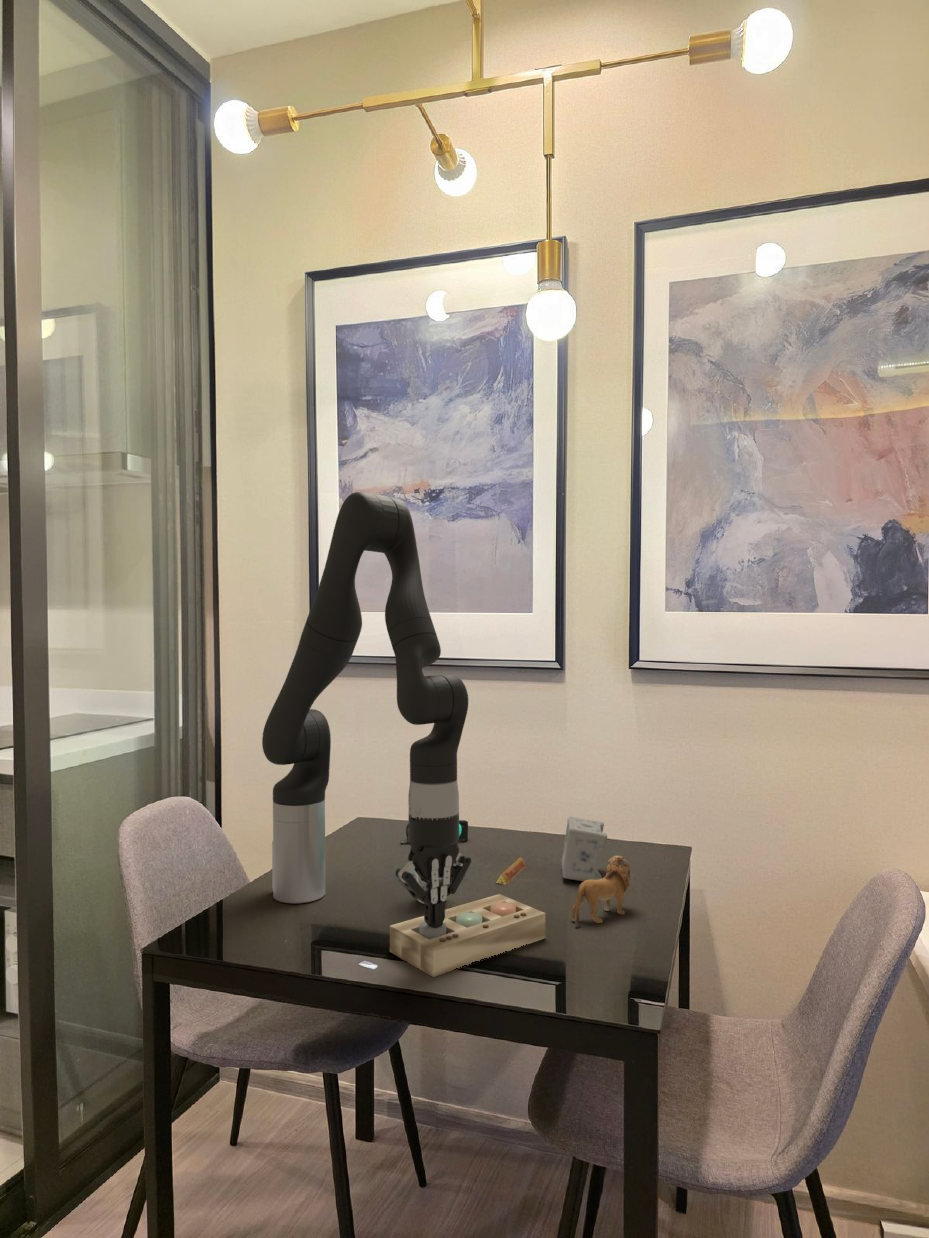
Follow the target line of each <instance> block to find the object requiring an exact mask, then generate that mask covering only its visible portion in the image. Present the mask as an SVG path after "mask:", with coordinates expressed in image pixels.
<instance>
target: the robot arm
mask: <svg viewBox="0 0 929 1238" xmlns="http://www.w3.org/2000/svg"><path fill="white" fill-rule="evenodd" d="M335 520H336V521H335V524H334V527H333V528H334V529H333V531H332V536H331V540H330V543H329V544H330V545H329V549H328V553H327V557H326V562H325V564H324V568H323V572H322V576H321V578H320V582H319V585H318V588H317V591H316V594H315V597H314V600H313V602H312V605H311V608H310V610H309V613H308V615H307V618H306V620H305V623H304V627H303V629H302V632H301V635H300V638H299V642H298V645H297V647H296V652H295V654H294V657H293V659H292V662H291V665H290V667H289V669H288V672H287V675H286V676H285V677H286V678H285V680H284V682H283V685H282V687H281V690H280V691H279V694H278V696H277V697H276V700H275V702H274V704H273V705H272V708H271V709H270V712H269V714H268V716H267V718H266V721H265V725H264V728H263V731H262V738H261V743H262V744H261V746H262V752H263V754H264V756H265V758H266V760H267V761H268V762H270V763H272V764H274V765H278V766H280V765H281V766H286V765H293V766H292V768H291V769H290V770H289V772H288V773H287V774H286V775H285V776H284V777H283V778H282V779H280V780H279V781H277V782H276V783H275V784H274V785H273V788H272V843H271V847H272V848H271V850H272V851H271V853H272V854H271V855H272V857H271V859H272V861H271V862H272V865H271V867H272V871H271V872H272V876H271V877H272V885H271V886H272V890H271V891H272V892H273V893H272V894H273V895H272V897H273V899H275V901H278V902H280V903H285V904H304V903H305V904H306V903H310V902H313V901H314V902H315V901H317V900H320V899H322V898H323V897H324V896H325V895H326V790H327V787H328V785H329V780H330V764H331V762H330V761H331V748H332V747H331V744H332V741H331V739H332V738H331V736H332V735H331V730H330V729H331V728H330V725H329V722H328V720H327V717H326V716H325V715H324V713H322V712H321V711H320V710H318V709H314V708H312V706H313V704H314V703H315V701H316V700H317V698H318V697H319V696H320V695H321V694H322V692H324V691H325V689H327V687H329V685H331V684H332V683H333V681H335V679H336V678H337V677H338V676H339V675H340V674H341V673H342V671H344V669H345V668H346V666H347V665H348V664H349V662H350V660H351V658H352V656H353V655H354V654H353V653H354V651H355V647H356V646H357V642H358V641H359V637H360V634H361V632H362V629H363V616H362V611H361V606H360V602H359V598H358V594H357V591H356V590H357V589H356V575H357V571H358V567H359V563H360V561H361V558H362V555H363V554H364V552H365V551H367V552H371V553H372V552H374V553H381V554H384V555H385V557H386V560H387V562H388V565H389V567H390V570H391V584H390V589H389V593H388V596H387V599H386V603H385V610H384V621H385V625H386V630H387V634H388V638H389V641H390V644H391V647H392V651H393V653H394V657H395V669H396V704H397V708H398V711H399V713H400V715H401V716H402V718H403V719H404V720H405V721H407V722H408V723H409V724H411V725H414V726H416V725H417V726H419V725H422V726H423V725H429V724H430V725H431V724H433V726H432V729H431V732H430V733H429V734H428V735H426V736H424V737H421V738H420V739H418V740H416V741H413V743H412V744H411V746H410V748H409V787H408V797H407V798H408V802H407V803H408V805H407V806H408V823H409V842H410V844H409V845H410V849H409V853H408V854H407V855H408V856H407V863H406V864H405V865H404V866H403V868H397V869H396V871H395V873H394V874H395V877H396V878H397V879H398V880H399V882H401V884H402V886H403V887H404V889H406V891H407V892H408V893H409V894H410V896H411V897H412V898H413V899H416V900H417V899H418V900H420V901H422V902H424V904H423V914H424V915H423V916H424V920H425V922H426V923H427V925H428V926H430V927H432V928H436V927H439V926H442V925H443V921H444V919H445V910H446V900H447V899H448V896H450V895H455V894H456V892H457V890H458V888H459V886H460V884H461V882H462V881H463V879H464V877H465V875H466V873H467V871H468V869H469V868H470V865H471V863H472V858H471V857H470V856H466V855H464V854H462V853H461V852H460V848H459V845H458V843H457V841H458V840H459V820H460V793H459V786H458V749H459V745H460V741H461V738H462V734H463V732H464V731H463V729H464V726H465V722H466V719H467V715H468V710H469V695H468V691H467V687H466V685H465V683H464V682H463V680H462V679H460V677H458V676H457V675H453V674H439V675H425V674H424V672H423V668H426V667H428V666H430V665H432V664H434V663H435V662H437V661H438V660H439V658H440V656H441V652H442V649H441V643H440V641H439V638H438V635H437V631H436V629H435V625H434V623H433V619H432V616H431V613H430V610H429V608H428V607H429V606H428V604H427V603H428V602H427V599H426V597H425V596H426V595H425V592H424V587H423V579H422V573H421V565H420V558H419V552H418V546H417V540H416V532H415V527H414V522H413V519H412V515H411V512H410V509H409V508H408V506H407V504H406V503H405V502H404V501H403V500H400V499H399V498H396V497H391V496H387V495H382V494H381V495H380V494H375V493H369V492H363V491H355V492H352V493H350V494H349V495H348V496H347V497H346V498H345V500H344V501H343V502H342V504H341V506H340V509H339V511H338V513H337V518H336V519H335ZM414 870H415V871H416V873H417V874H418V878H419V883H418V882H417V881H416V874H415V871H414ZM419 884H420V885H421V886H420V885H419ZM418 900H417V901H418Z"/></svg>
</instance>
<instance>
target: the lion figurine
mask: <svg viewBox="0 0 929 1238" xmlns="http://www.w3.org/2000/svg"><path fill="white" fill-rule="evenodd" d="M630 866H631V865H630V863H629V862H628V861H627V859H626V858H625V857H624V856H621V855H613V856H612V857H611V858H609V859H608V861H607V866H606V873H605V876H603V877H602V879H599V880H591V879H590V880H586V881H581V883H580V884H579V886H578V889H577V895H576V901H575V904H574V905H573V907H572V908H571V922H574V925H575V926H578V925H579V923H580V908H581V906H582V905H584V904H585V903H584V902H585V901H587V902H588V905H589V907H590V912H589V914H590V915H589V916H590V917H591V918H592V919H593V920H594V923H596V924H602V923H603V919H602V918H600V917H598V916H597V909H598V906H599V904H600V903H599V901H602V902H604V903H603V910H604V911H606V912H610V911H611V910H612V907H611V902H610V901H611V900H610V899H612V898H615V899H616V912H617V914H619V915H625V910H623V903H624V899H625V897H624V894H625V893H626V892H627V891H628V890H629V887H630V880H631V875H630V874H631V869H630Z"/></svg>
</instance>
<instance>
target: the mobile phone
mask: <svg viewBox="0 0 929 1238" xmlns="http://www.w3.org/2000/svg"><path fill="white" fill-rule="evenodd" d="M459 824H460V825H461V828H462V831H461V834H460V836H459V840H458V841H457V842H461V843H465V842H466V843H467V842H468V841H469V840H468V839H469V837H468V836H469V822H468V821H467V820H464V819H463V820H462V819H461V820H460V819H459ZM405 834H406V840H400V842H399V843H400V844H401V845H406V844H407V845H408V844H409V845H410V842H409V822H408V823H407V825H406V829H405Z"/></svg>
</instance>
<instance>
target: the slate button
mask: <svg viewBox="0 0 929 1238" xmlns="http://www.w3.org/2000/svg"><path fill="white" fill-rule="evenodd" d="M419 934H420V935H422V936H424V937H426V938H428V939H433V938H436V937H439V936H442V935H445V934H446V924H445V923H444V922H443V925H442V926H439V927H436V928H432V927H430V926H428V925H427V923H426V922H425V921H424V922H422V923H421V924H420V925H419Z"/></svg>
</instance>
